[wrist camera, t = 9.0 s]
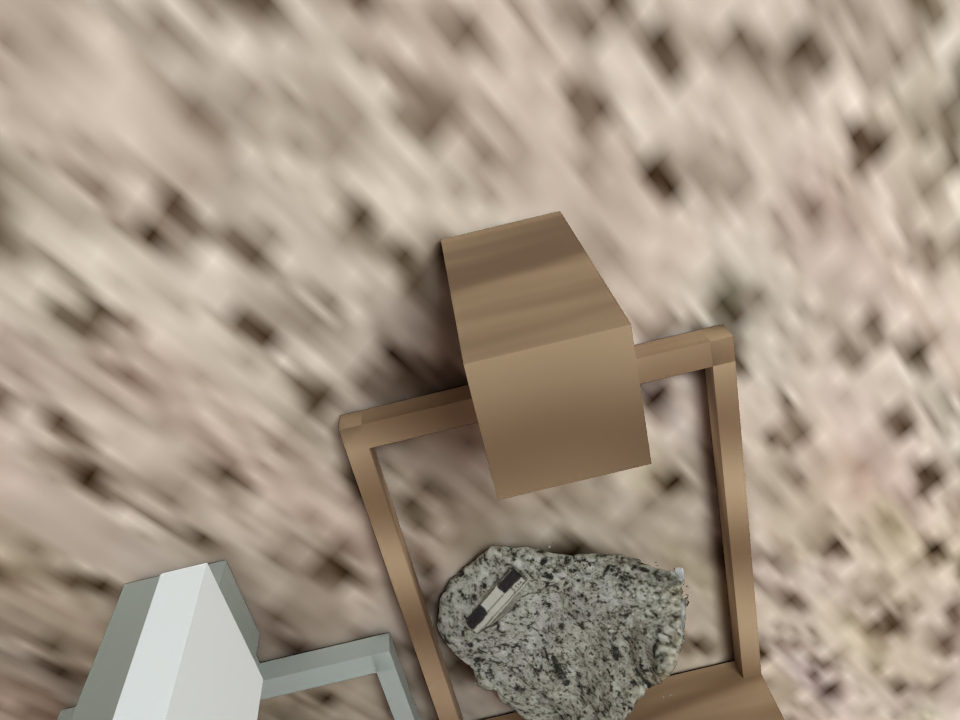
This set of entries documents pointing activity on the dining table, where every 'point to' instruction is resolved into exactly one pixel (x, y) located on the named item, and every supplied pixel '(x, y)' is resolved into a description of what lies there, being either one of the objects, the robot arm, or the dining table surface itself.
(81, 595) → the dining table surface
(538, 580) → the rock sample
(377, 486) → the brown open frame
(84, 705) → the grey open frame
